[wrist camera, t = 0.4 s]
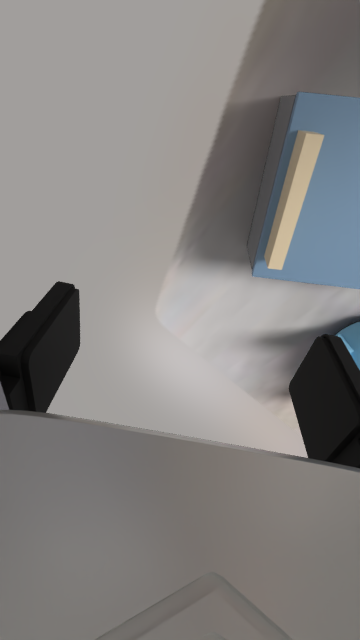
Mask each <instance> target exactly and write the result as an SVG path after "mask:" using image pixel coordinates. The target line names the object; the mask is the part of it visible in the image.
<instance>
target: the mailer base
mask: <svg viewBox="0 0 360 640" xmlns="http://www.w3.org/2000/svg"><path fill="white" fill-rule="evenodd" d="M295 98H296V96H281V98H280V103H279V107H278V111H277V116H276V120H275V125H274V129H273V133H272V138H271V142H270V147H269V151H268V155H267V160H266V164H265V168H264V173H263V177H262V182H261V186H260V190H259V195H258V199H257V204H256V208H255V212H254V217H253V221H252V226H251V230H250V234H249V239H248V243H247V249H248V254H249V258H250V263H251V268H252V269H253V265H254V261H255V257H256V253H257V249H258V245H259V241H260V237H261V233H262V229H263V225H264V221H265V217H266V213H267V209H268V205H269V201H270V197H271V194H272V190H273V186H274V182H275V178H276V174H277V170H278V166H279V162H280V158H281V154H282V150H283V146H284V142H285V138H286V134H287V130H288V126H289V122H290V118H291V114H292V110H293V106H294V102H295Z"/></svg>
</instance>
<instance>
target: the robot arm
mask: <svg viewBox="0 0 360 640" xmlns="http://www.w3.org/2000/svg"><path fill="white" fill-rule="evenodd" d="M79 347H80V309H79V290H78V289H75V287H74V285H73V284H69V283H64V282H56V283H55V285H54V286H53V287H52V288H51V289H50V291H49V292H48V293H47V294H46V295H45V296H44V297H43V299H42V300H41V301H40V302H39V303H38V304H37V306H36V307H35V308H34V309H33V310H32V311H27V312H26V313H25V314H24V315H23V316H22V317H21V318H20V319H19V320H18V321H17V322H16V324H15V325H14V326H13V327H12V328H11V330H9V332H8V333H7V334H6V335H5V336H4V337H3V338H2V339H1V341H0V640H360V370H359V368H358V366H357V365H356V363H355V361H354V359H353V358H352V356H351V354H350V352H349V351H348V349H347V347H346V345H345V344H344V342H343V340H342V339H341V337H338V336H333V335H328V334H323V335H322V336H321V337H317V338H316V340H315V341H314V343H313V345H312V346H311V348H310V350H309V352H308V353H307V355H306V357H305V358H304V360H303V362H302V363H301V365H300V367H299V368H298V370H297V372H296V374H295V375H294V377H293V379H292V380H291V382H290V385H289V392H290V395H291V399H292V402H293V406H294V409H295V413H296V416H297V420H298V423H299V427H300V430H301V434H302V437H303V441H304V444H305V448H306V451H307V455H308V458H304V457H299V456H294V455H288V454H282V453H277V452H271V451H266V450H261V449H255V448H250V447H244V446H239V445H232V444H227V443H222V442H216V441H211V440H205V439H199V438H193V437H188V436H182V435H176V434H170V433H164V432H159V431H153V430H148V429H142V428H136V427H130V426H124V425H119V424H113V423H107V422H101V421H95V420H89V419H82V418H76V417H69V416H63V415H57V414H50V413H46V411H47V409H48V407H49V405H50V403H51V401H52V400H53V398H54V396H55V394H56V392H57V390H58V388H59V386H60V384H61V383H62V381H63V378H64V377H65V375H66V373H67V371H68V369H69V368H70V366H71V364H72V362H73V360H74V358H75V356H76V354H77V352H78V350H79Z"/></svg>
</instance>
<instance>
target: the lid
mask: <svg viewBox="0 0 360 640" xmlns="http://www.w3.org/2000/svg"><path fill="white" fill-rule="evenodd" d="M252 276H254V277H262V278H271V279H279V280H287V281H296V282H304V283H312V284H321V285H329V286H338V287H346V288H354V289H360V98H356V97H346V96H337V95H327V94H317V93H307V92H297V94H296V98H295V102H294V106H293V110H292V114H291V118H290V122H289V126H288V130H287V134H286V138H285V142H284V146H283V150H282V154H281V158H280V162H279V166H278V170H277V174H276V178H275V182H274V186H273V190H272V194H271V197H270V201H269V205H268V209H267V213H266V217H265V221H264V225H263V229H262V233H261V237H260V241H259V245H258V249H257V253H256V257H255V261H254V265H253V269H252Z"/></svg>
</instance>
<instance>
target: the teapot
mask: <svg viewBox="0 0 360 640" xmlns="http://www.w3.org/2000/svg"><path fill="white" fill-rule="evenodd" d="M335 336H338V337H341V339H342V340H343V342H344V344H345V345H346V347H347V349H348V351H349V352H350V354H351V356H352V358H353V359H354V361H355V363H356V365H357V366H358V368H359V370H360V321H359V322H356V323H354V324H352V325H349V326H348V327H346V328H344V329H343V330H341V331H340V332H338V333H337V334H336V335H335Z"/></svg>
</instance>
